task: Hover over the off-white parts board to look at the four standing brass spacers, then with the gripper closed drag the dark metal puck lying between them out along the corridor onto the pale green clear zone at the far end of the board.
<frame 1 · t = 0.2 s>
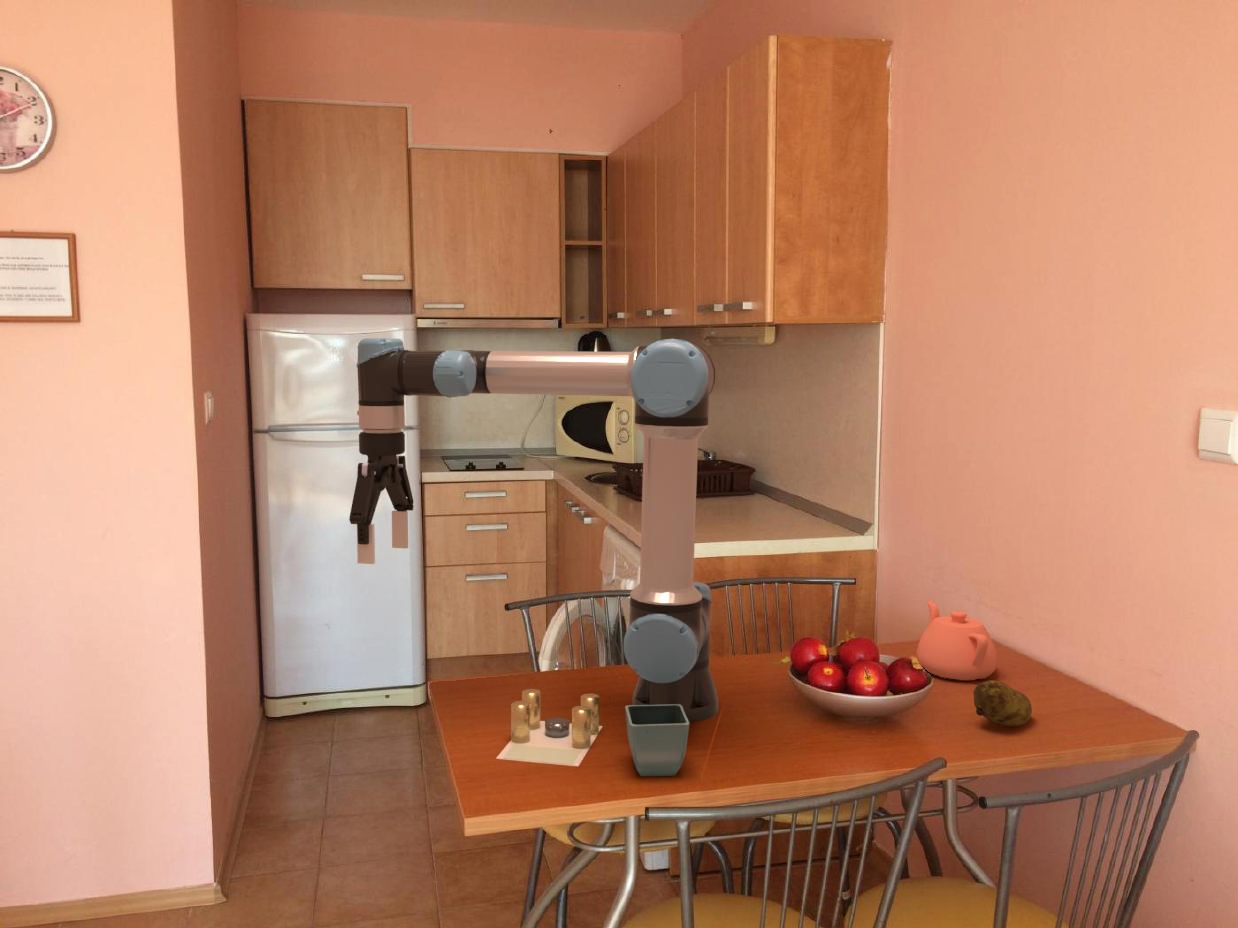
hand: (383, 555, 175), 28 cm above the table, fingers open, 13 cm apart
flower pot: (655, 772, 155), on the table
teapot: (953, 672, 206), on the table
spacer d: (520, 739, 166), point 1 cm above the table, touching board
spacer a: (589, 731, 169), resting on board
spacer b: (531, 726, 171), resting on board
spacer c: (581, 745, 164), resting on board
potato: (1003, 725, 177), on the table
board: (551, 744, 165), on the table
dark metal puck: (557, 733, 168), resting on board
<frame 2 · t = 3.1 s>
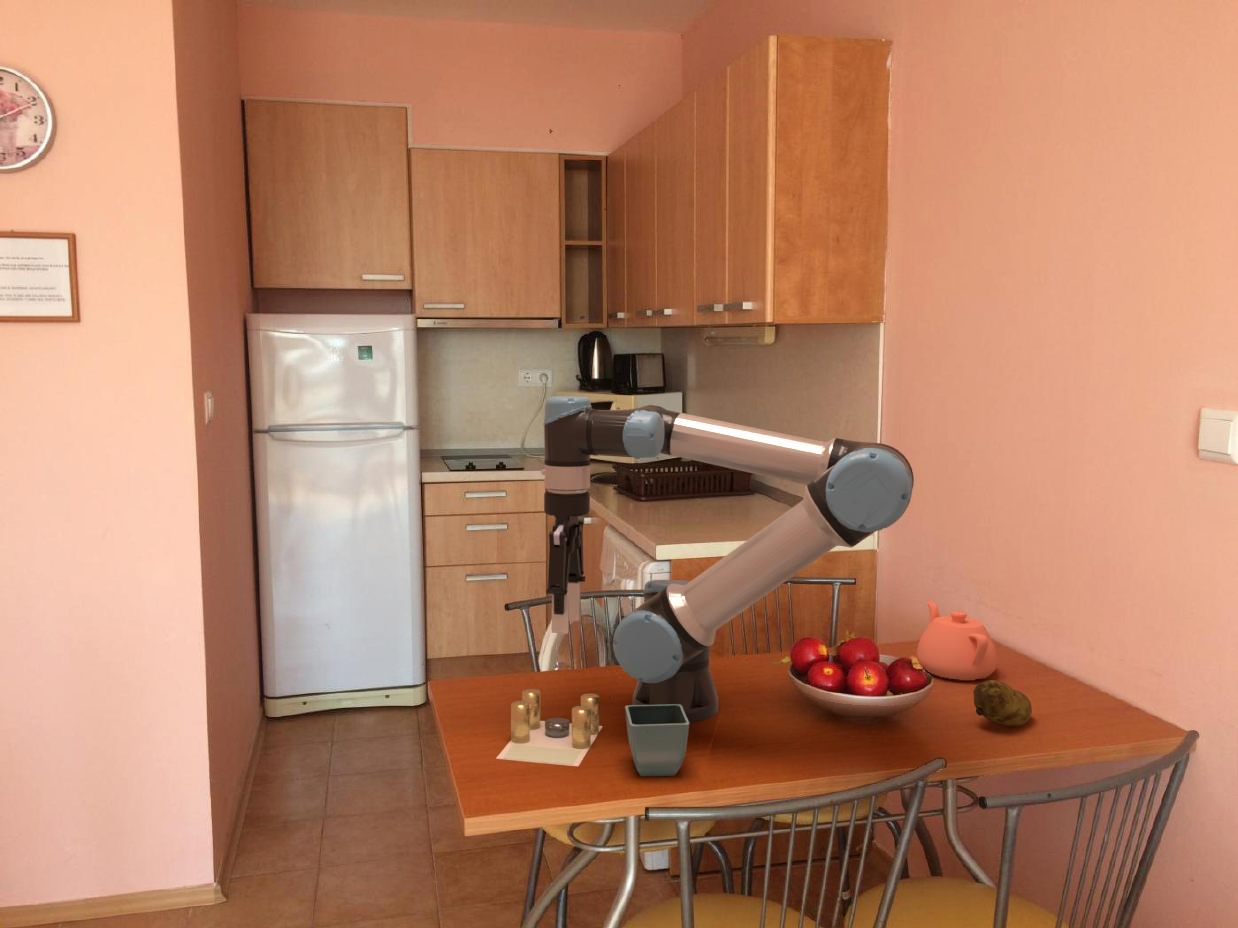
hand: (566, 626, 172), 17 cm above the table, fingers open, 7 cm apart
nothing on the table moved.
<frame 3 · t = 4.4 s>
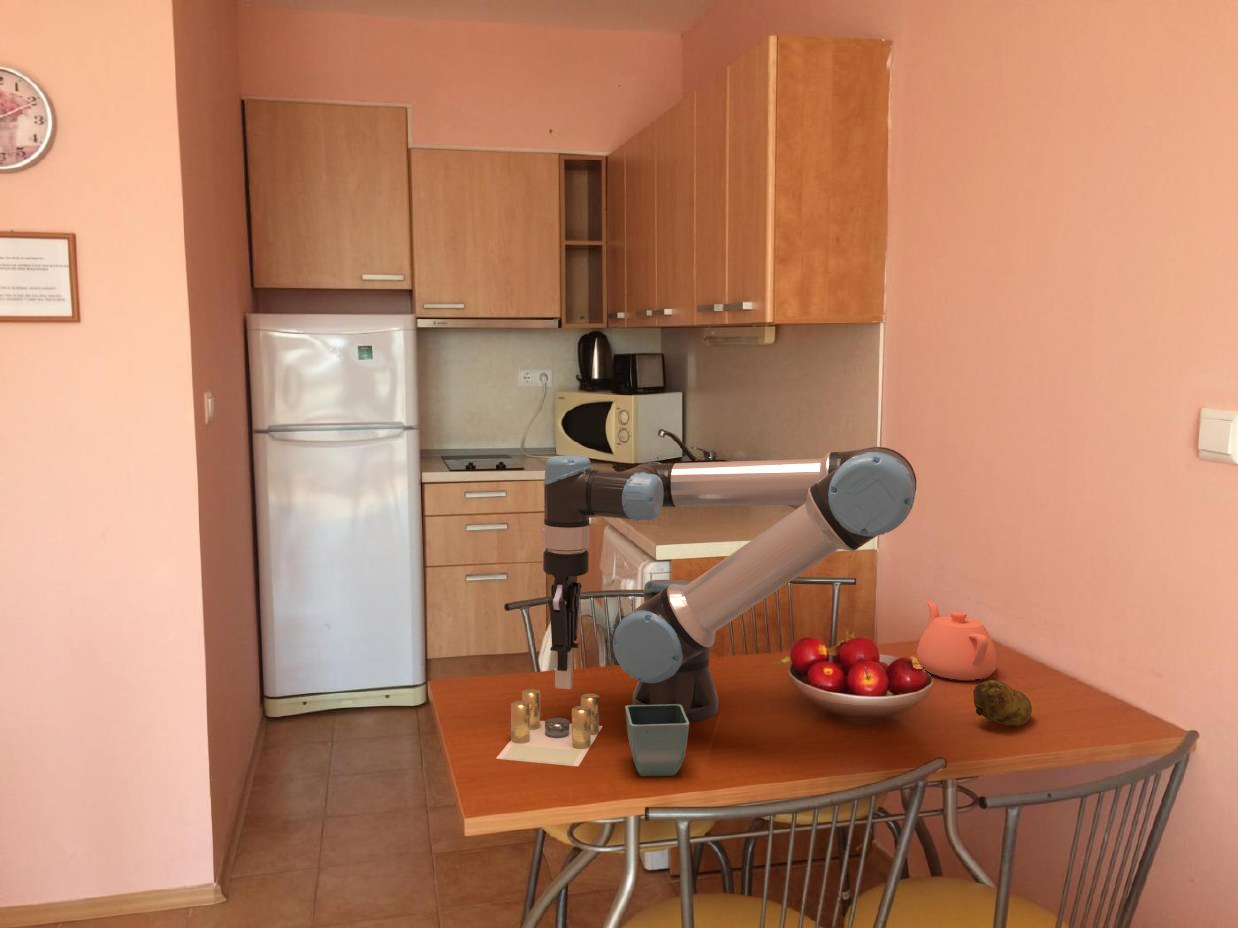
hand: (563, 687, 173), 7 cm above the table, fingers closed
nothing on the table moved.
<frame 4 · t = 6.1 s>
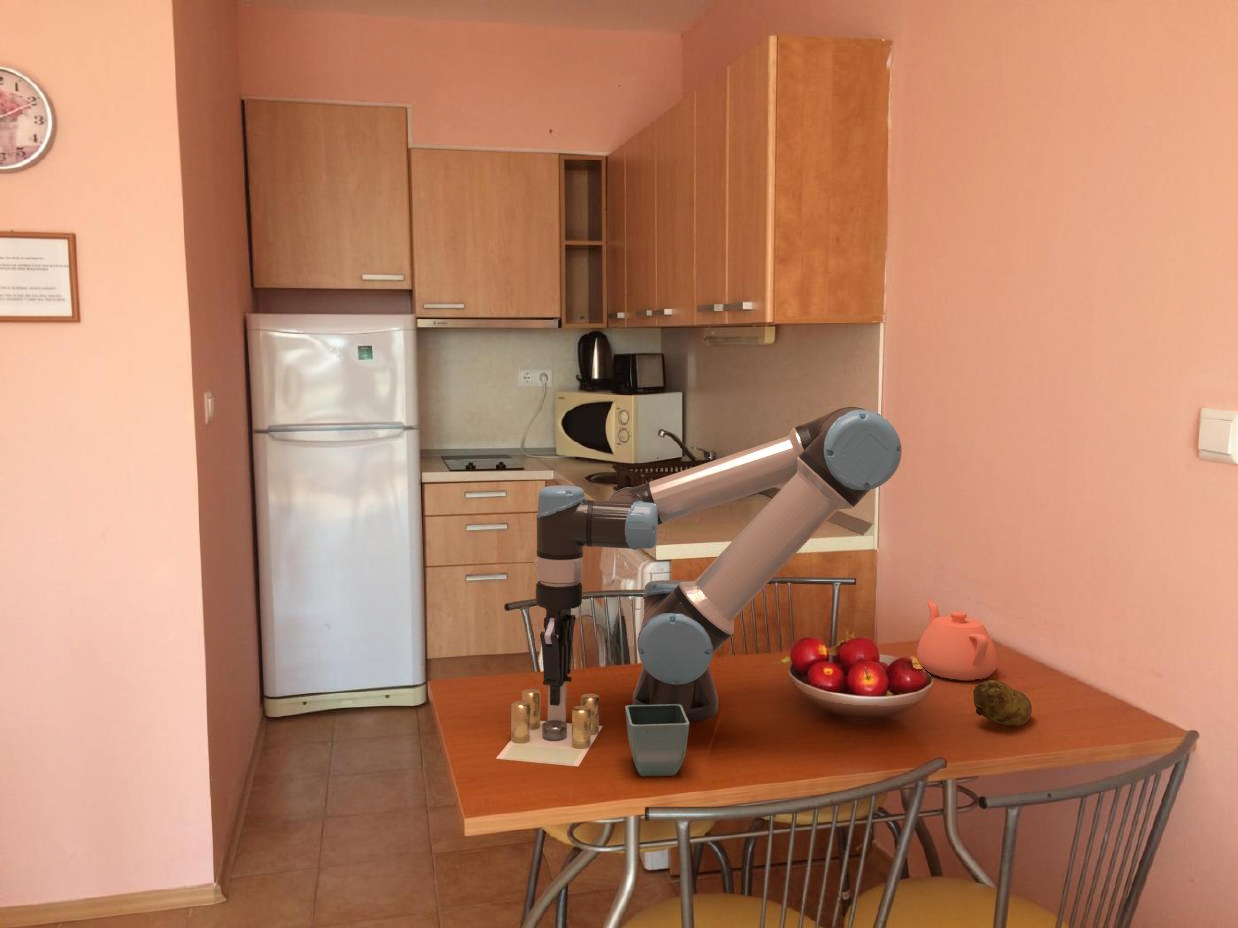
hand: (556, 721, 170), 2 cm above the table, fingers closed
dark metal puck: (554, 736, 167), point 1 cm above the table, touching board
everything else where it was.
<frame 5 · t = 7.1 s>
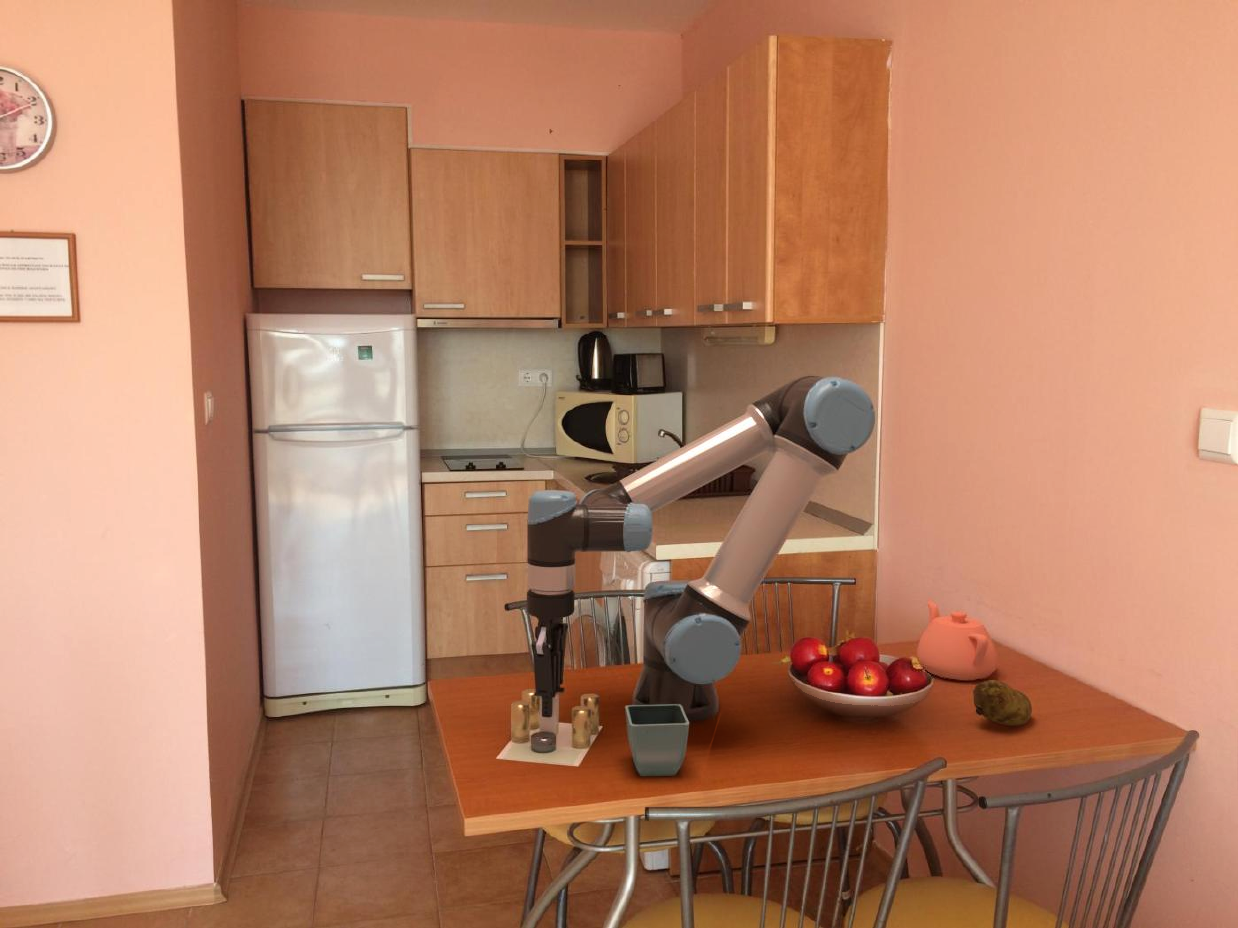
hand: (548, 733, 164), 2 cm above the table, fingers closed
dark metal puck: (543, 748, 162), point 1 cm above the table, touching gripper
everything else where it was.
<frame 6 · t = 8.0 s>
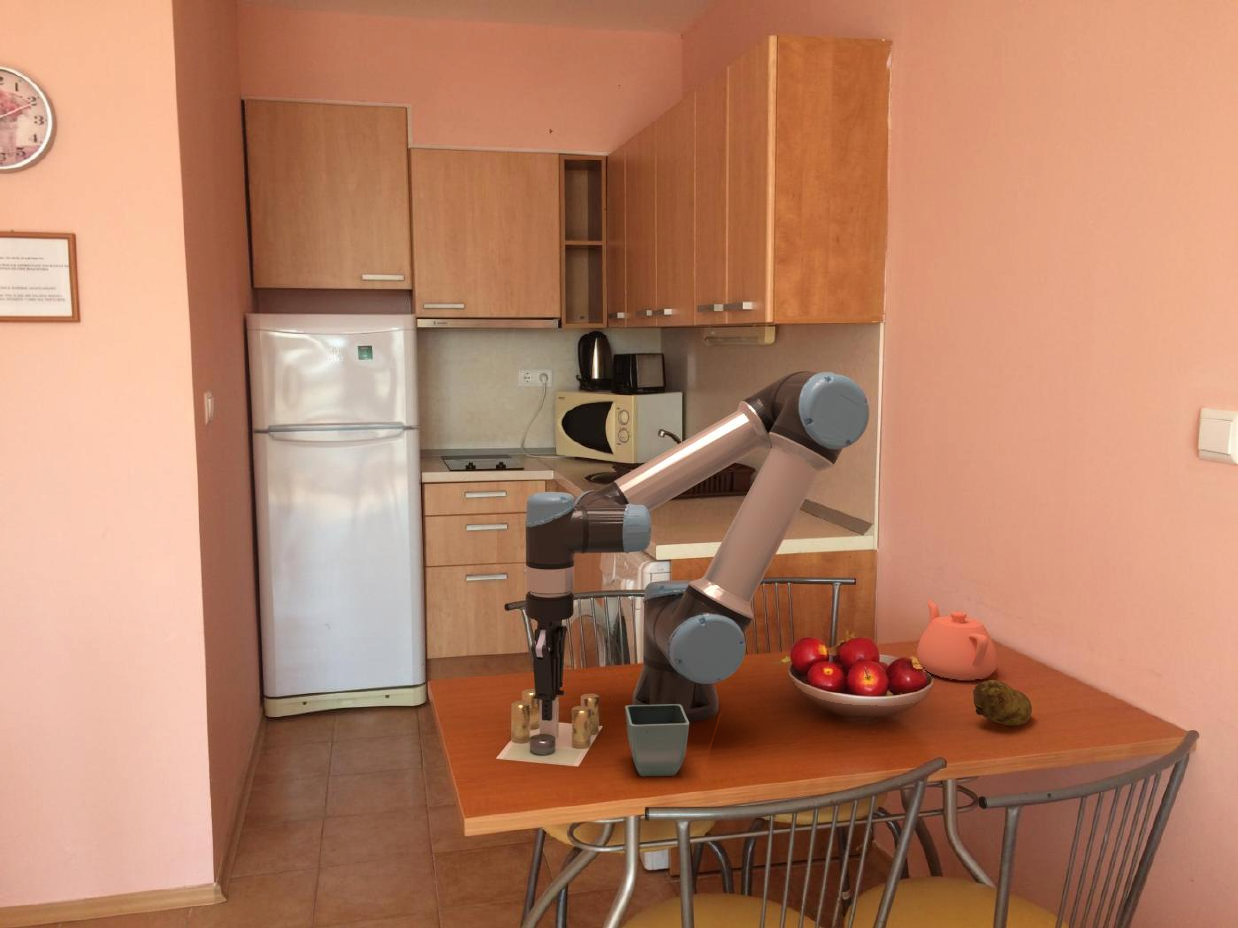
hand: (549, 736, 163), 2 cm above the table, fingers closed
dark metal puck: (542, 750, 161), point 1 cm above the table, touching board
everything else where it was.
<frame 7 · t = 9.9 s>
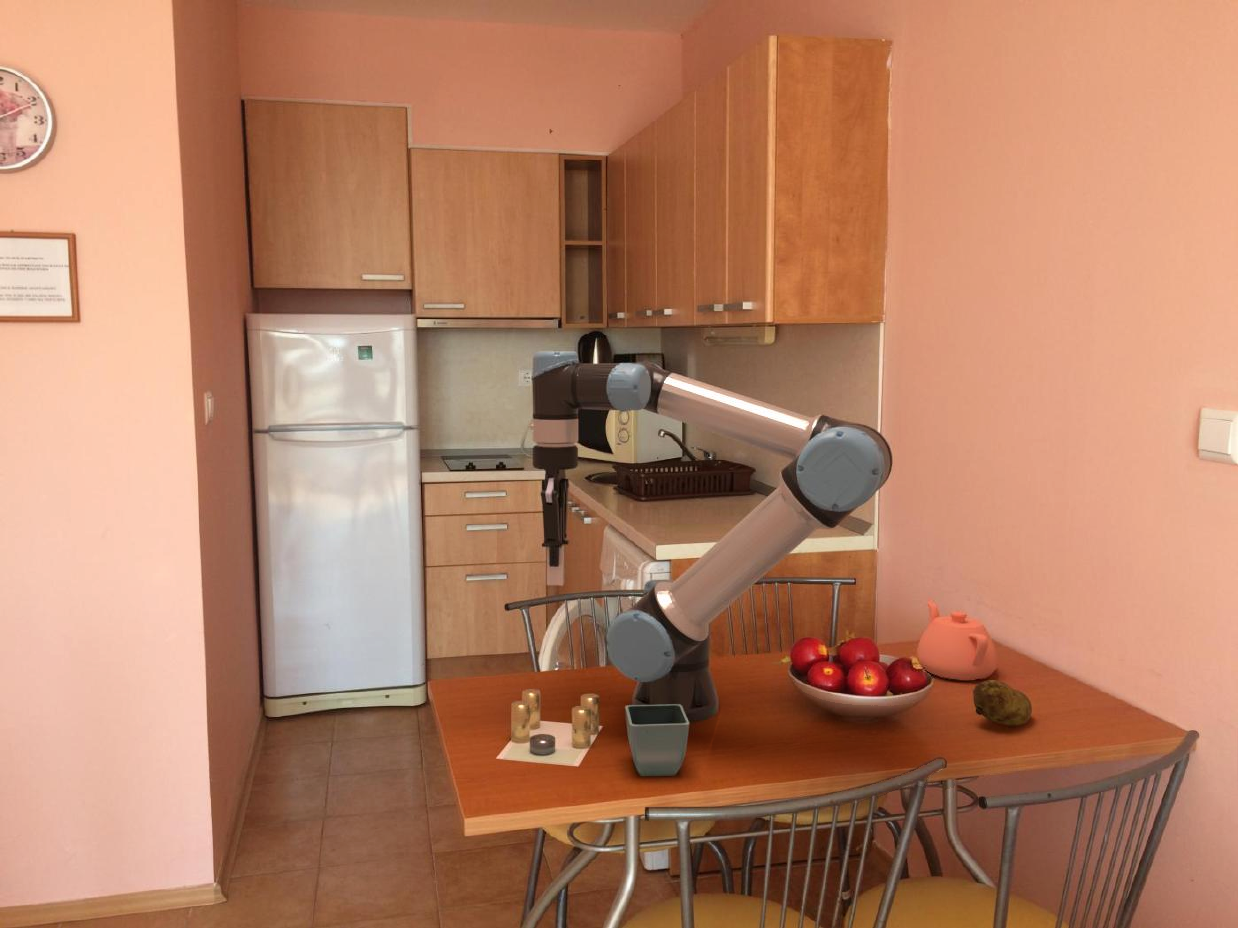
hand: (555, 584, 173), 24 cm above the table, fingers closed
nothing on the table moved.
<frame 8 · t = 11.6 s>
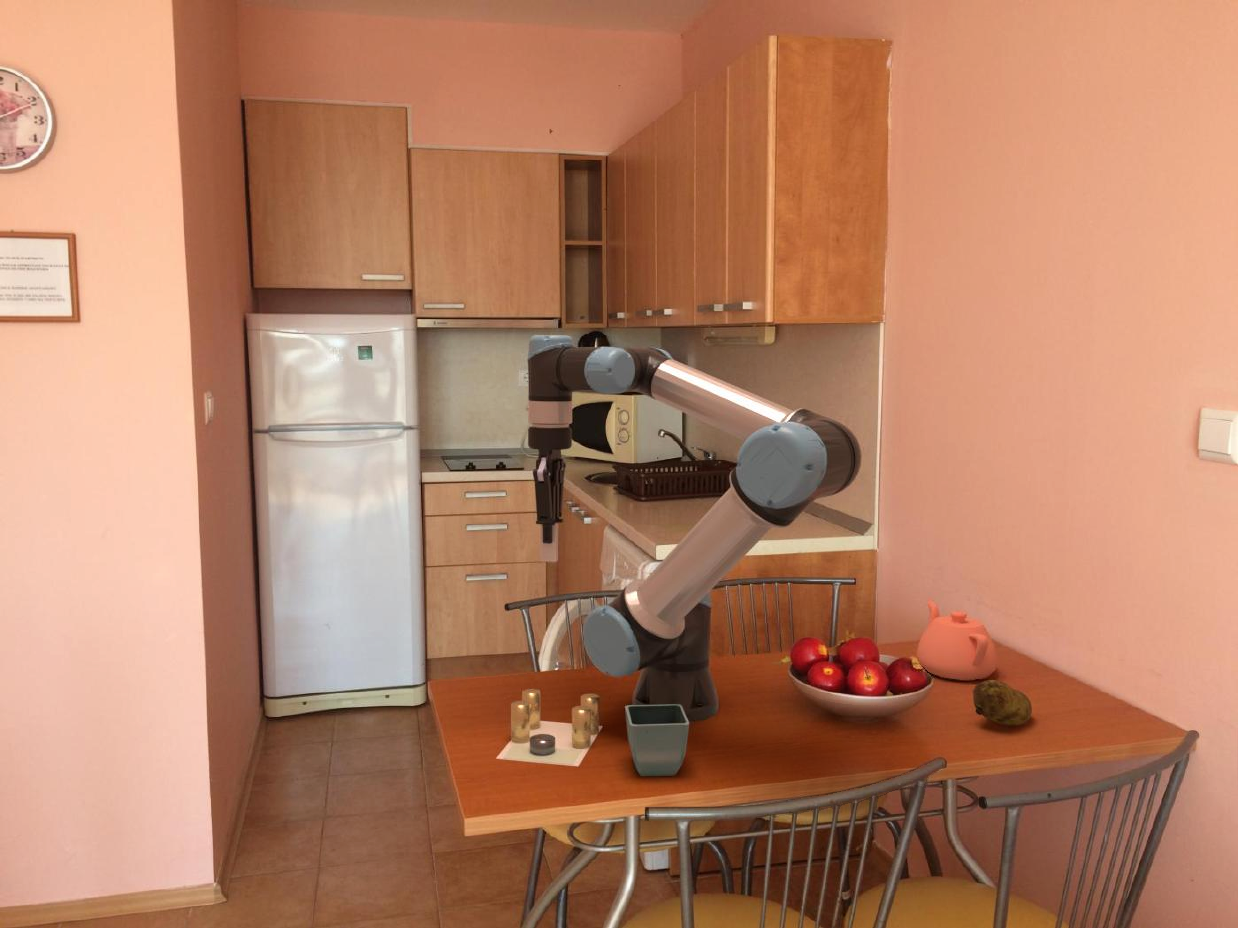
hand: (549, 560, 179), 26 cm above the table, fingers closed
nothing on the table moved.
at the end: dark metal puck inside the target area (2.3 cm from its centre), point 0.6 cm above the table; dark metal puck moved 7.7 cm from its start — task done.
